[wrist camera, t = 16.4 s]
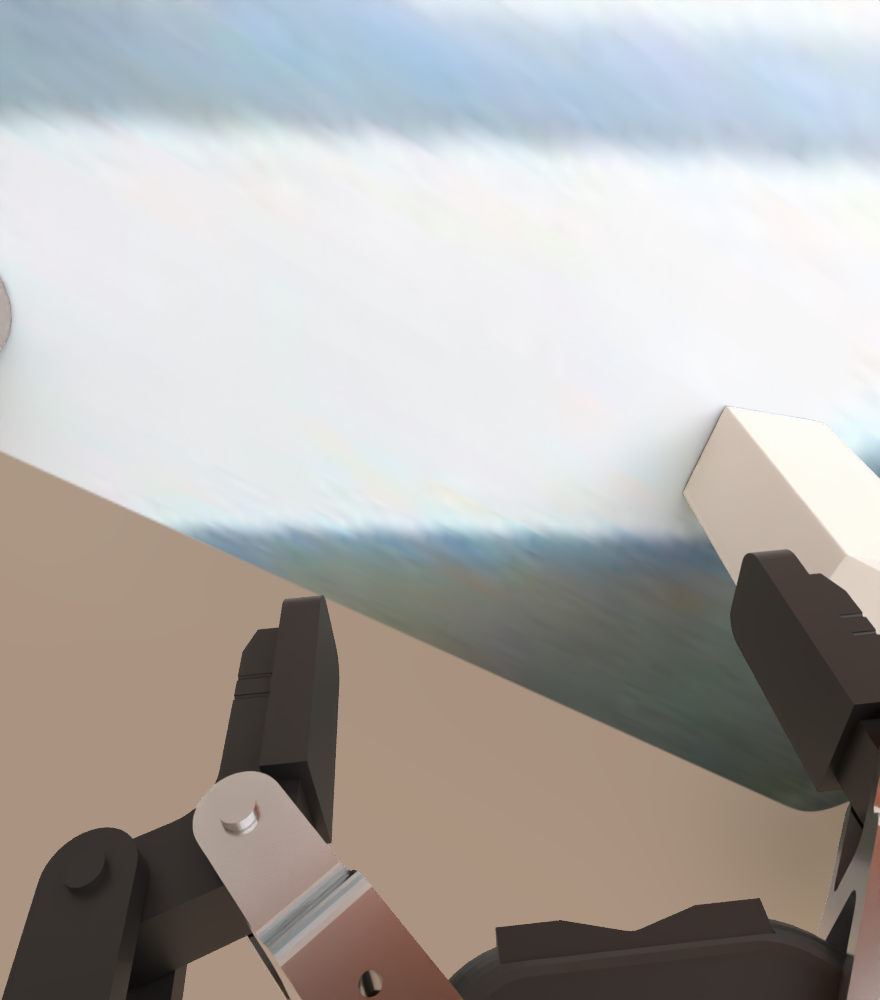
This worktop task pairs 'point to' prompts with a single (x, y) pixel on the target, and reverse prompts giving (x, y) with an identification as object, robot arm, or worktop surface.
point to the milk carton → (790, 500)
